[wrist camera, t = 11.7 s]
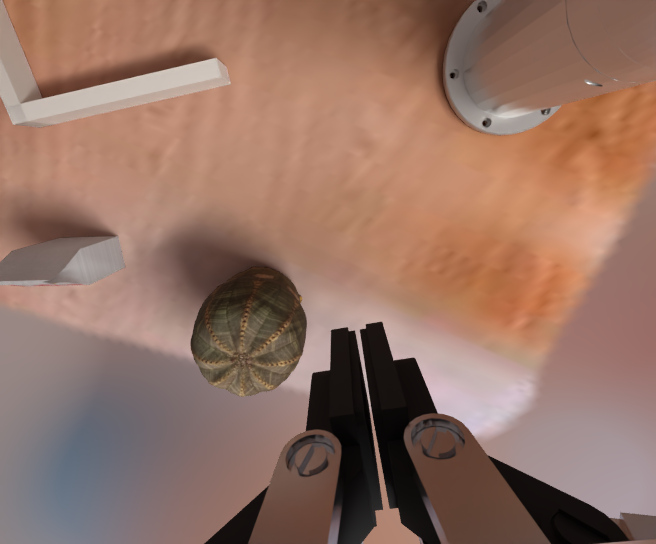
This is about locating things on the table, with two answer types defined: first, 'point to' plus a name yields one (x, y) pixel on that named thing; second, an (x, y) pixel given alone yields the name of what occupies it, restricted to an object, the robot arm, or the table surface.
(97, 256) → the grey faceted angular block
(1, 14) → the bay
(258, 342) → the shell
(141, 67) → the table surface
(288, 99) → the table surface
